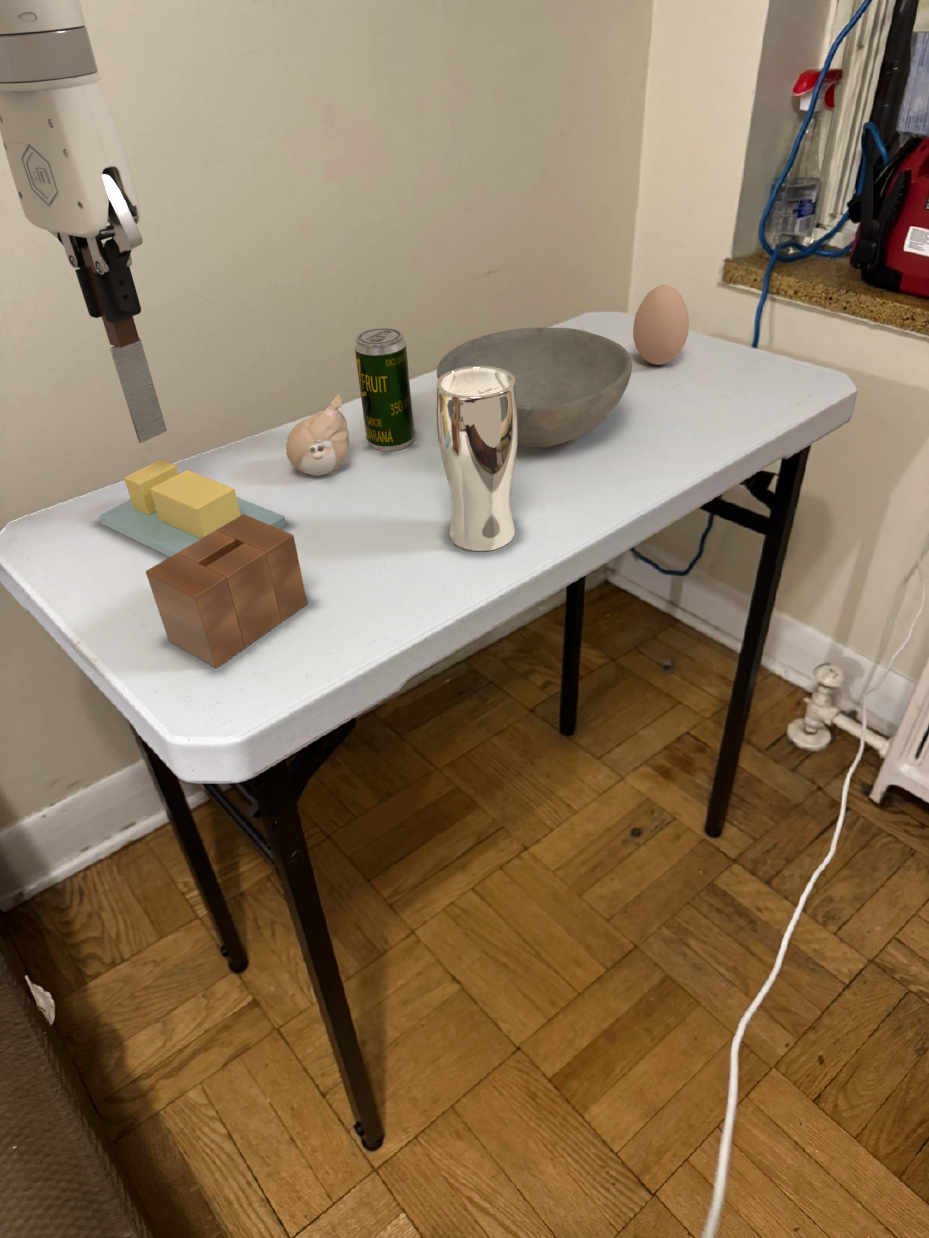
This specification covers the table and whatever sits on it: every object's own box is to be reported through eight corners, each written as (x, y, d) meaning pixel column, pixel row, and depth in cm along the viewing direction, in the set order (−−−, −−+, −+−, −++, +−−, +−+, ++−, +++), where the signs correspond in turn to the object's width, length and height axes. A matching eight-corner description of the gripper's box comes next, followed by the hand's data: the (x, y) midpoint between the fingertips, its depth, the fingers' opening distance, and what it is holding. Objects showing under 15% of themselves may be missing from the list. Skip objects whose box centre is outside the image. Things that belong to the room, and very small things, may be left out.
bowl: (667, 444, 93) (674, 373, 88) (495, 493, 87) (492, 419, 82) (566, 378, 109) (568, 314, 104) (413, 415, 102) (407, 349, 97)
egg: (683, 375, 108) (692, 295, 102) (628, 372, 109) (634, 294, 103) (685, 354, 113) (694, 277, 107) (633, 352, 114) (638, 276, 108)
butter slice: (148, 515, 85) (138, 484, 83) (133, 508, 86) (123, 477, 84) (185, 496, 88) (176, 465, 85) (170, 489, 89) (161, 458, 87)
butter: (205, 541, 80) (196, 509, 78) (159, 520, 84) (149, 488, 82) (242, 520, 83) (234, 488, 81) (195, 500, 87) (187, 469, 85)
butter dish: (205, 574, 78) (203, 565, 77) (101, 524, 86) (98, 515, 85) (286, 525, 84) (284, 516, 83) (182, 482, 92) (179, 473, 91)
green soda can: (383, 427, 100) (371, 324, 93) (423, 435, 98) (414, 330, 91) (357, 447, 96) (343, 342, 89) (399, 456, 94) (387, 348, 87)
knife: (145, 445, 80) (86, 252, 69) (134, 441, 81) (74, 250, 70) (171, 432, 82) (117, 243, 71) (160, 428, 82) (106, 241, 72)
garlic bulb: (340, 486, 89) (329, 414, 85) (282, 483, 91) (268, 412, 86) (359, 457, 95) (350, 387, 90) (304, 454, 96) (292, 385, 91)
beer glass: (431, 544, 80) (418, 390, 71) (466, 508, 85) (458, 360, 76) (499, 561, 77) (494, 404, 68) (531, 523, 82) (531, 371, 73)
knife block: (216, 668, 68) (194, 596, 63) (168, 641, 71) (144, 571, 66) (307, 604, 74) (293, 534, 69) (259, 581, 77) (243, 513, 72)
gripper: (-63, 66, 64) (26, 313, 76) (55, 71, 57) (135, 346, 68) (28, 54, 69) (100, 289, 80) (149, 57, 61) (210, 317, 72)
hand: (116, 314), depth 74 cm, fingers closed on knife, 1 cm apart
